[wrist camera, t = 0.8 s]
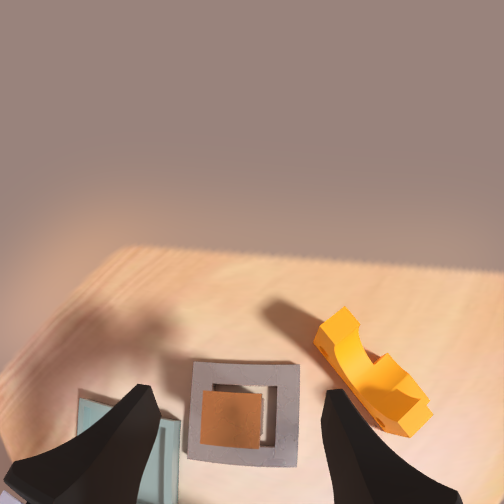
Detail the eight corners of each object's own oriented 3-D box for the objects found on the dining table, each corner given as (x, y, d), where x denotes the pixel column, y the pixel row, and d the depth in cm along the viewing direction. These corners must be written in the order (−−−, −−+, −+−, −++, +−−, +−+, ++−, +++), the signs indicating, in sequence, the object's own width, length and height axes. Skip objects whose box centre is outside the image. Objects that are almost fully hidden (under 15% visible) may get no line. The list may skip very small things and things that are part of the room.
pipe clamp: (416, 401, 21) (447, 398, 16) (384, 431, 21) (410, 438, 15) (346, 316, 27) (360, 292, 22) (312, 342, 26) (319, 325, 21)
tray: (178, 516, 18) (171, 522, 16) (86, 485, 19) (77, 487, 18) (180, 420, 23) (174, 421, 22) (89, 399, 25) (79, 397, 23)
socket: (296, 464, 20) (296, 467, 19) (190, 457, 21) (187, 458, 21) (299, 365, 25) (299, 364, 24) (196, 362, 26) (193, 361, 25)
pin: (266, 437, 22) (259, 449, 16) (221, 434, 23) (199, 443, 16) (267, 395, 24) (261, 393, 18) (223, 393, 25) (203, 390, 19)
